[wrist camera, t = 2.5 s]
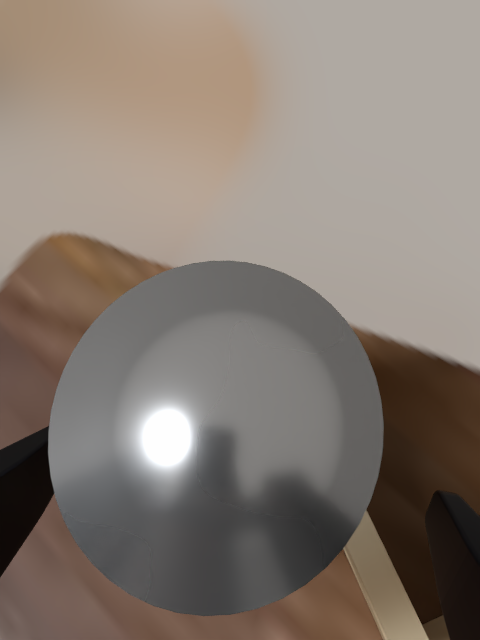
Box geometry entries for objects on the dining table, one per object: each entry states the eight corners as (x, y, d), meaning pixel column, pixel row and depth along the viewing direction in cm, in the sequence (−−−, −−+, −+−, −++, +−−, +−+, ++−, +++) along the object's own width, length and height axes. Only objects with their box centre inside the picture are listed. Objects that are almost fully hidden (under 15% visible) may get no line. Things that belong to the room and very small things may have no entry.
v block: (541, 745, 12) (623, 837, 9) (289, 602, 14) (291, 640, 11) (556, 584, 13) (631, 620, 10) (327, 479, 15) (337, 486, 13)
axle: (245, 507, 15) (123, 715, 3) (201, 423, 17) (11, 356, 5) (324, 455, 16) (466, 469, 4) (273, 377, 17) (260, 214, 5)
